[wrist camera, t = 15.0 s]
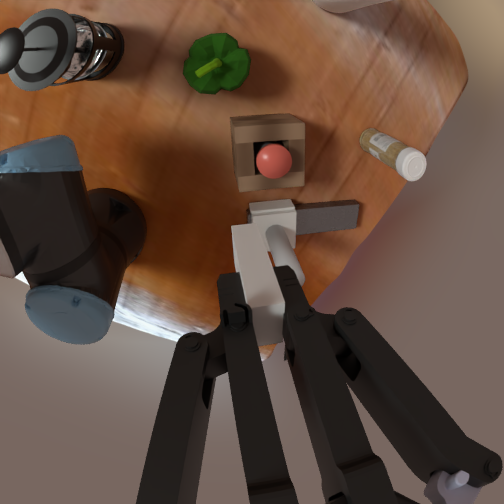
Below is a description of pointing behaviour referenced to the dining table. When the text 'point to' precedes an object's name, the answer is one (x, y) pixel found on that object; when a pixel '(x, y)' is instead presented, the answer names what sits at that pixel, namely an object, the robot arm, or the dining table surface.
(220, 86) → the bell pepper
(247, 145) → the button box
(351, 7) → the alcohol
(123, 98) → the dining table surface
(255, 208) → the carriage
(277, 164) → the red button
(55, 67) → the french press
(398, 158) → the sprinkles bottle
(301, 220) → the rail
